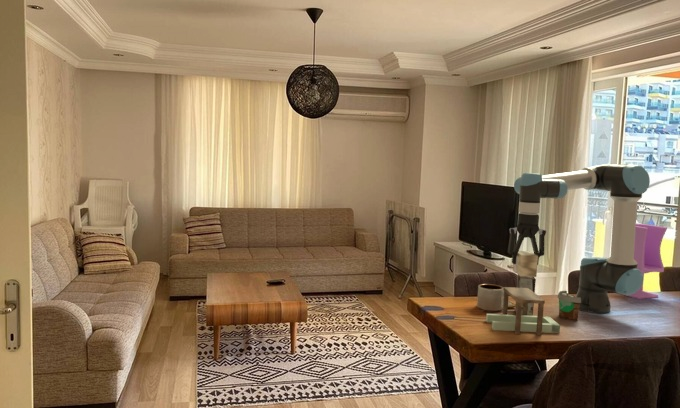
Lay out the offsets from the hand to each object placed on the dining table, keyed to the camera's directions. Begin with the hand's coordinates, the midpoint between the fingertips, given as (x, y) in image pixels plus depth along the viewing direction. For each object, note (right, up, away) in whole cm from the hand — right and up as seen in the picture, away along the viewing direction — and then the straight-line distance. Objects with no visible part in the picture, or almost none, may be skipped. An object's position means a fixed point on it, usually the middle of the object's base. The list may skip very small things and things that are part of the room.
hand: (524, 272), depth 209 cm
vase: (+77, -19, +62) cm, 101 cm away
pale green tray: (0, -21, +2) cm, 21 cm away
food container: (+23, -21, +17) cm, 36 cm away
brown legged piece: (-1, -21, +2) cm, 21 cm away
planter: (-6, -19, +27) cm, 34 cm away
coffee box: (+7, -20, +21) cm, 30 cm away
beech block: (0, 0, 0) cm, 0 cm away
